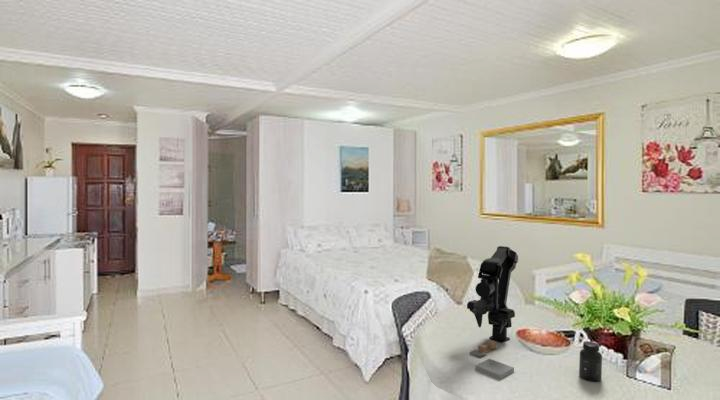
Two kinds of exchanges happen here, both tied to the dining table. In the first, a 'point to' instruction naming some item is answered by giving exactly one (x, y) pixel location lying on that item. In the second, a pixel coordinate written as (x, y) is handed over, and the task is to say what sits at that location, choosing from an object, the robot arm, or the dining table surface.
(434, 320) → the dining table surface
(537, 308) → the dining table surface
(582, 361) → the supplement bottle
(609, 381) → the dining table surface
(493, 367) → the tile
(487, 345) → the brown wooden slab
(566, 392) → the dining table surface
